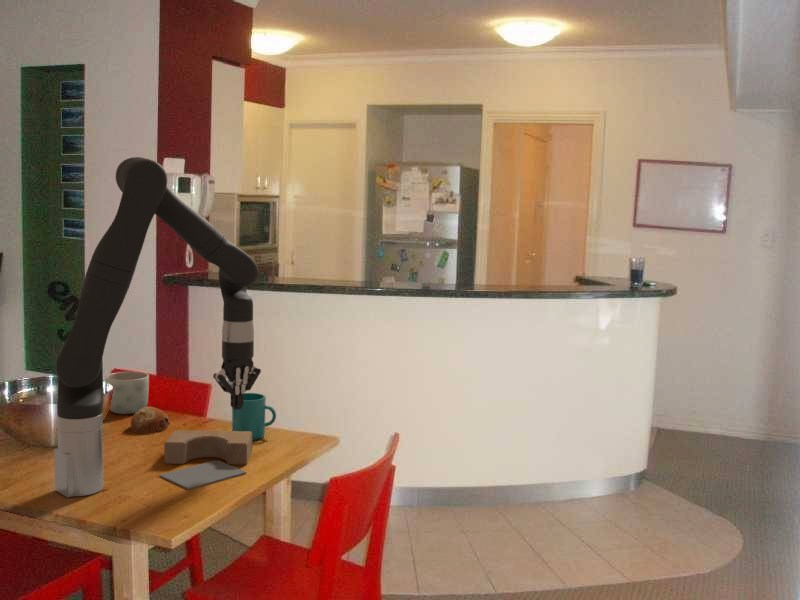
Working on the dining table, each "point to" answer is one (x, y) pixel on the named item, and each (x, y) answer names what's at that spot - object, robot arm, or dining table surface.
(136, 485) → the dining table surface
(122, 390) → the planter
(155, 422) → the bread roll
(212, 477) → the mat
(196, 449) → the decorative block
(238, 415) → the cup
